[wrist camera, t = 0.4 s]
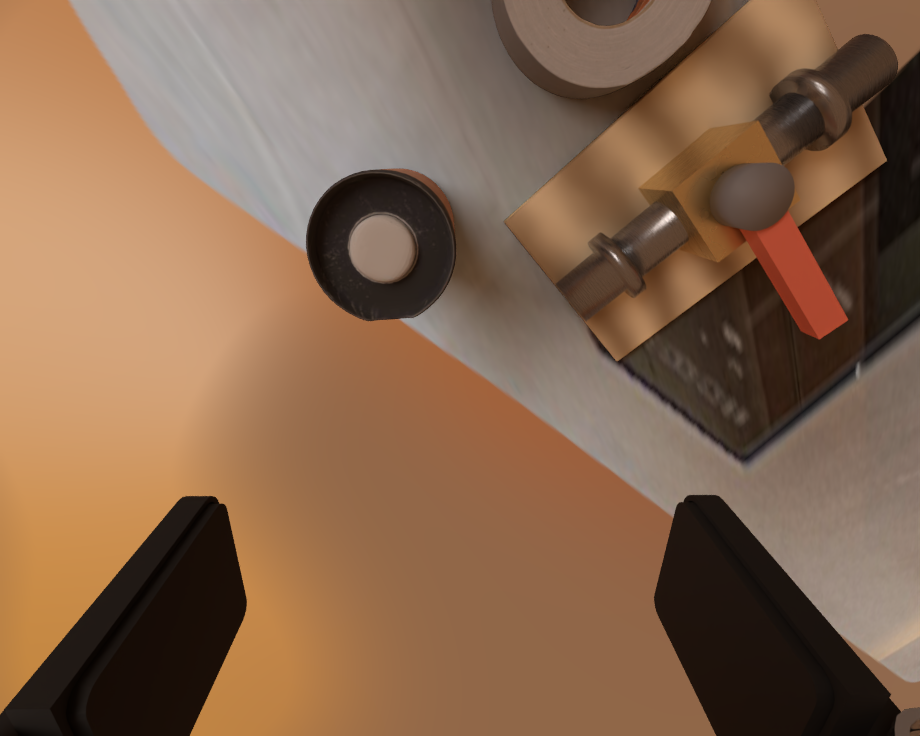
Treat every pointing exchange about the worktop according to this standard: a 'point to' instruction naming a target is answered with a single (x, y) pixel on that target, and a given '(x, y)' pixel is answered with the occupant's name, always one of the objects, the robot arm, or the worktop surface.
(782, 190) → the lever
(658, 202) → the valve
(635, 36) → the tape roll
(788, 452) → the worktop surface
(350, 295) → the travel mug
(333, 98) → the worktop surface
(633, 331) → the mount board
